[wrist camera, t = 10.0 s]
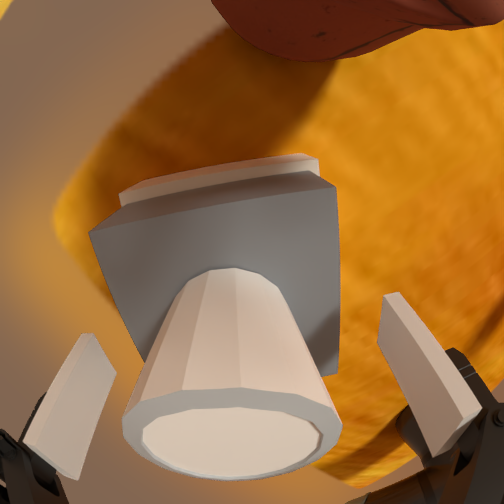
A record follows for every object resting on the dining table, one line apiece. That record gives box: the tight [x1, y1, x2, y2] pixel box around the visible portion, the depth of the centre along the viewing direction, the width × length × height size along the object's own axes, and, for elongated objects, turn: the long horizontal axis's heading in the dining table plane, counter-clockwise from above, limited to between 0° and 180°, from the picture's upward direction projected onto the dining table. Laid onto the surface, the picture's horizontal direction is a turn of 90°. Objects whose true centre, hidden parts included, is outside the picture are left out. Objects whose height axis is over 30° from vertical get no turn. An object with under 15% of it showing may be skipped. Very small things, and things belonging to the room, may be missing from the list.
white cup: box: [122, 268, 343, 481], centre depth 10 cm, size 7×7×7 cm
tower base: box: [118, 153, 320, 207], centre depth 20 cm, size 12×12×5 cm
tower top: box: [88, 170, 340, 377], centre depth 16 cm, size 11×11×5 cm
